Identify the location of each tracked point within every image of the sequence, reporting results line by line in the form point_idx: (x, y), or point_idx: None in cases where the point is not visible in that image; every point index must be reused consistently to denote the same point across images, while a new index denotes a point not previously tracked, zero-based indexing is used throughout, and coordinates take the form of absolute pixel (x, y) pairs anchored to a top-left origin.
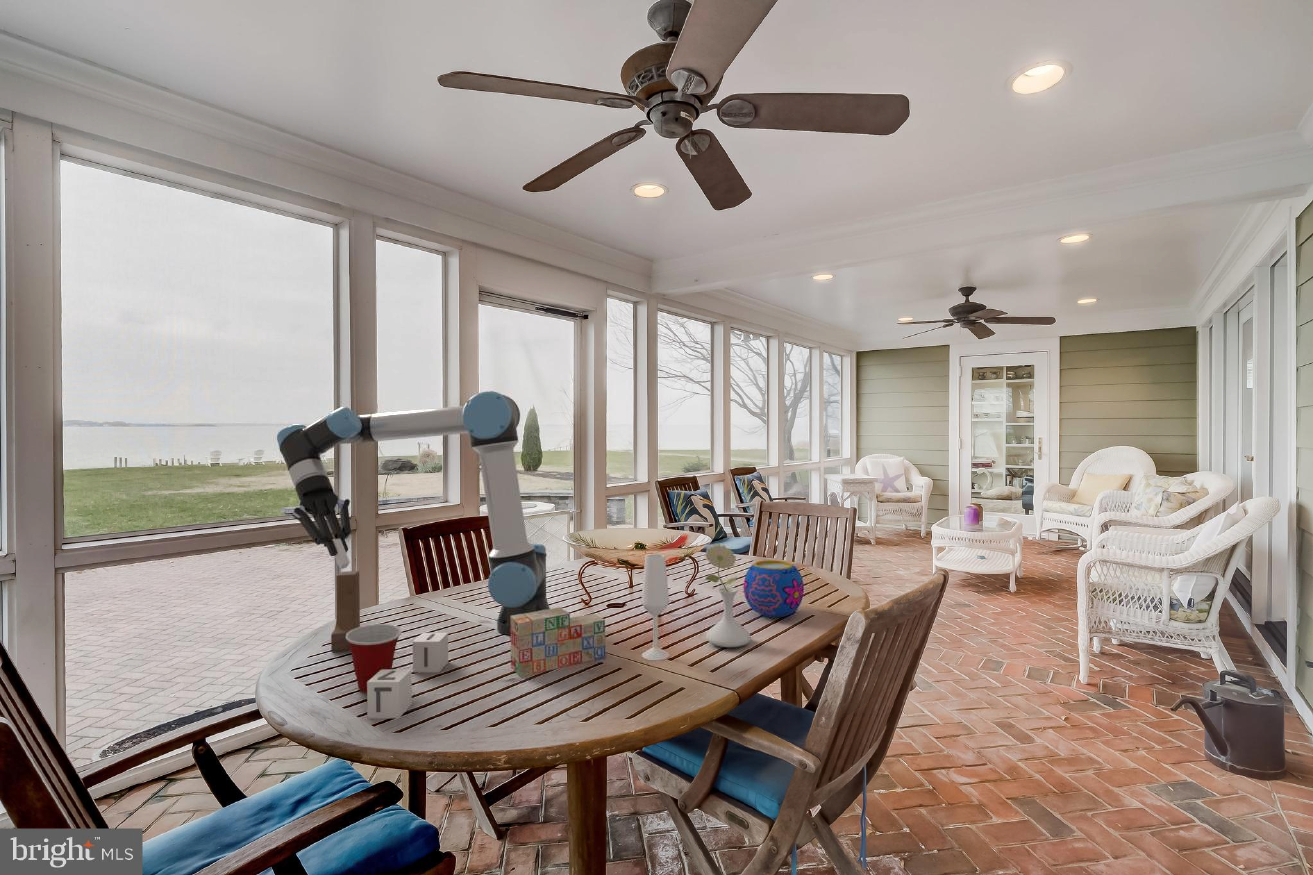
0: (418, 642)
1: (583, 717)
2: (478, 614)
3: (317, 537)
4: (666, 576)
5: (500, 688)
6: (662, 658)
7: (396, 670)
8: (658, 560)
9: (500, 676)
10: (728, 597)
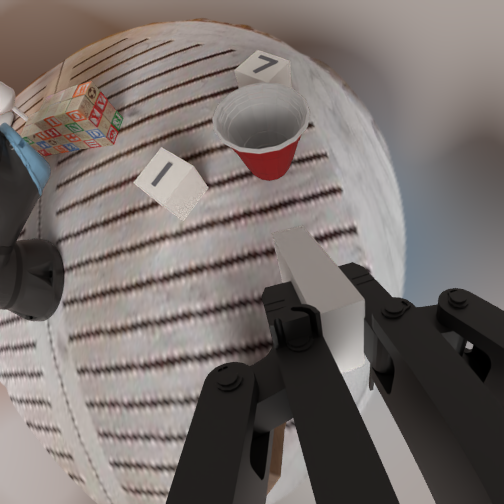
0: (186, 162)
1: (143, 42)
2: (62, 389)
3: (478, 301)
4: None
5: (153, 98)
6: None
7: (251, 73)
8: None
9: (135, 124)
10: None
